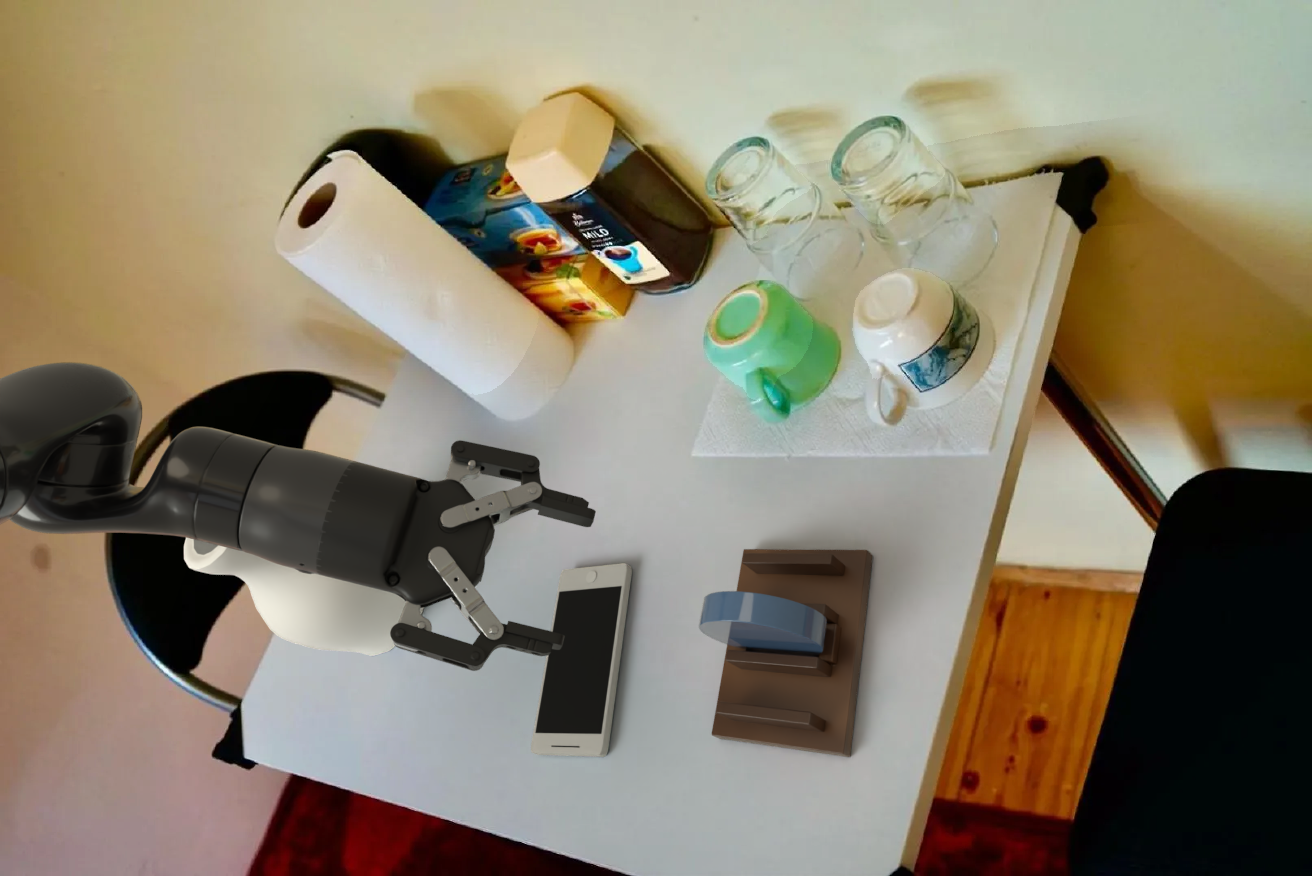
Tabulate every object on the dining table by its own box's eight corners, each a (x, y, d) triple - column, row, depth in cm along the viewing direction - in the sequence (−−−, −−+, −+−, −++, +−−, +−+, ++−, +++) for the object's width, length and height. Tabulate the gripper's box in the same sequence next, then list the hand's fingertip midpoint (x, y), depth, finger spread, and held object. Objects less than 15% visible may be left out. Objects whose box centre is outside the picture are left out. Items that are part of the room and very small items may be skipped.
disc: (843, 660, 60) (790, 624, 54) (734, 652, 65) (675, 617, 59) (846, 631, 61) (794, 592, 55) (739, 625, 66) (681, 588, 60)
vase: (453, 525, 90) (289, 437, 76) (419, 666, 84) (233, 599, 70) (360, 538, 98) (195, 461, 84) (322, 669, 92) (136, 609, 77)
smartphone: (633, 565, 75) (626, 562, 75) (607, 757, 68) (600, 754, 68) (566, 572, 79) (560, 569, 78) (536, 755, 72) (528, 752, 71)
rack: (850, 757, 59) (828, 746, 56) (719, 738, 64) (693, 728, 62) (873, 555, 64) (854, 537, 62) (750, 554, 70) (728, 537, 67)
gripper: (282, 613, 51) (558, 680, 53) (365, 395, 57) (611, 462, 58) (302, 634, 58) (546, 693, 60) (374, 438, 64) (595, 496, 65)
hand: (578, 578), depth 59 cm, fingers open, 8 cm apart
